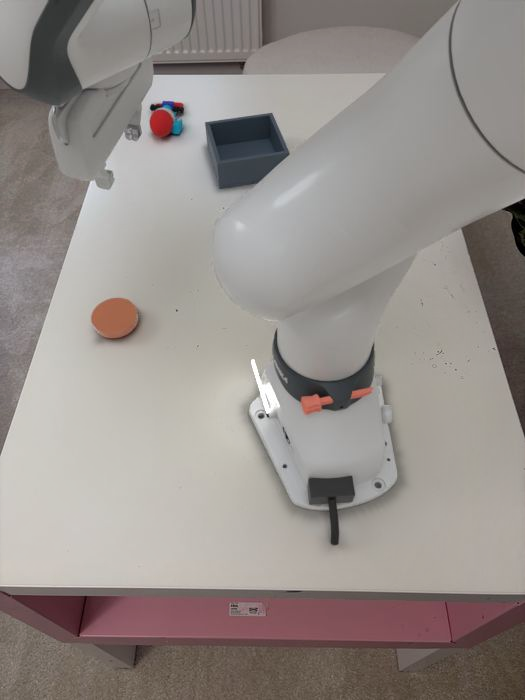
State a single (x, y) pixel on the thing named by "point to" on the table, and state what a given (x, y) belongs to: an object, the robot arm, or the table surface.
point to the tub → (244, 148)
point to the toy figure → (166, 118)
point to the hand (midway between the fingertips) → (120, 160)
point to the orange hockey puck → (114, 317)
